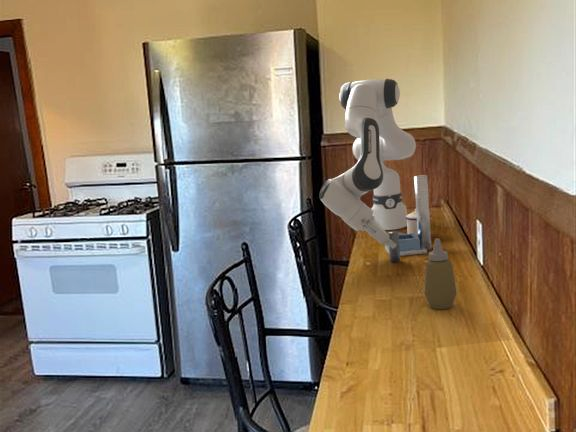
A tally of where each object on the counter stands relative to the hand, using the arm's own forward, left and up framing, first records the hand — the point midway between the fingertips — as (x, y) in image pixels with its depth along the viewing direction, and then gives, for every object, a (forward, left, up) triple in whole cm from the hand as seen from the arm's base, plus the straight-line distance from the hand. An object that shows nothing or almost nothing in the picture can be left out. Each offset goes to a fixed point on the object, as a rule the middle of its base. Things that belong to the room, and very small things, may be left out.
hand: (392, 243), depth 199 cm
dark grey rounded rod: (0, +1, -6) cm, 6 cm away
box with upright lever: (-15, +8, -6) cm, 18 cm away
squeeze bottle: (+46, +4, -6) cm, 47 cm away
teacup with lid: (-29, +16, -6) cm, 33 cm away
